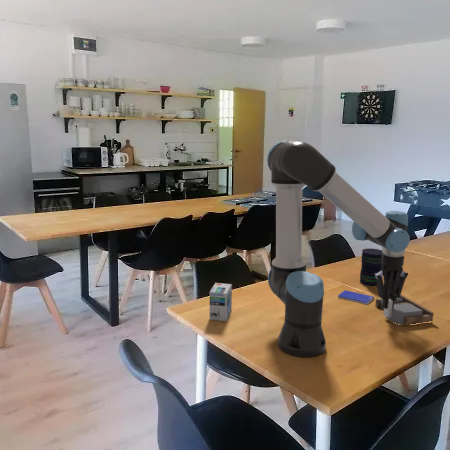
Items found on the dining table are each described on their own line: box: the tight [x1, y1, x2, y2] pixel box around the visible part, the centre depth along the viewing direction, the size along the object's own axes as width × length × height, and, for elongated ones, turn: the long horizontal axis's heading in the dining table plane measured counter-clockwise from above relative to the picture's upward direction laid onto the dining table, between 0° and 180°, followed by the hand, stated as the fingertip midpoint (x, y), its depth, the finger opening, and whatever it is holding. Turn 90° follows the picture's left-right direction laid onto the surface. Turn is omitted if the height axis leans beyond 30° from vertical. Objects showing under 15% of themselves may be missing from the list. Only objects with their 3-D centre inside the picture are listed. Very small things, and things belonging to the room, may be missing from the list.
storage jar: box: [359, 248, 383, 287], centre depth 207 cm, size 10×10×15 cm
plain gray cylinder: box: [379, 298, 404, 311], centre depth 179 cm, size 8×4×4 cm, turn 105°
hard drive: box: [337, 289, 375, 305], centre depth 190 cm, size 2×8×12 cm
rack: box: [374, 294, 434, 326], centre depth 173 cm, size 11×19×4 cm, turn 15°
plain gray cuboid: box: [385, 304, 422, 326], centre depth 168 cm, size 10×7×5 cm
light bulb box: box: [209, 282, 233, 322], centre depth 169 cm, size 11×7×11 cm, turn 170°
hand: (387, 316), depth 168 cm, fingers closed
